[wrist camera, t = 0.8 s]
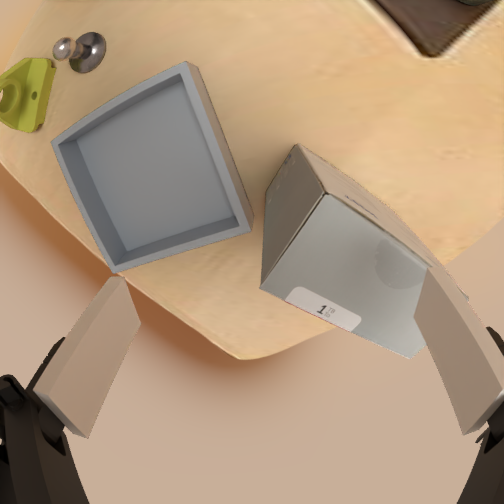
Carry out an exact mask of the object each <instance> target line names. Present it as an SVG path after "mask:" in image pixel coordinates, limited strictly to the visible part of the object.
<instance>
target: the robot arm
mask: <svg viewBox="0 0 504 504" xmlns="http://www.w3.org/2000/svg"><path fill="white" fill-rule="evenodd" d="M413 318H414V320H415V322H416V324H417V326H418V328H419V330H420V332H421V334H422V336H423V338H424V340H425V342H426V344H427V346H428V349H429V351H430V353H431V355H432V357H433V360H434V362H435V364H436V366H437V369H438V371H439V373H440V376H441V378H442V380H443V383H444V385H445V388H446V390H447V393H448V395H449V398H450V400H451V403H452V406H453V408H454V411H455V414H456V416H457V419H458V422H459V425H460V428H461V431H462V434H463V435H466V434H469V433H471V432H474V431H476V430H479V429H480V428H481V427H482V426H483V425H484V424H485V423H486V421H487V422H488V424H489V428H487V429H486V430H485V431H484V432H483V433H482V434H481V435H480V436H479V437H478V438H477V440H476V442H475V443H478V442H479V441H480V440H481V439H482V438H483V437H484V438H483V441H482V443H481V447H480V450H479V453H478V456H477V458H476V461H475V464H474V466H473V469H472V471H471V474H470V476H469V478H468V481H467V483H466V485H465V487H464V489H463V492H462V494H461V496H460V498H459V500H458V502H457V504H504V342H503V340H502V339H501V337H500V335H499V334H498V333H497V332H495V331H494V330H493V329H492V328H491V327H485V326H484V324H483V323H482V321H481V320H480V318H479V317H478V316H477V314H476V313H475V311H474V310H473V308H472V307H471V305H470V304H469V303H468V301H467V300H466V299H465V297H464V296H463V294H462V293H461V292H460V290H459V289H458V288H457V286H456V285H455V284H454V282H453V281H452V280H451V279H450V277H449V276H448V275H447V273H446V272H445V271H444V270H443V268H442V267H429V268H427V270H426V274H425V278H424V282H423V286H422V289H421V293H420V296H419V300H418V303H417V306H416V310H415V313H414V316H413ZM140 325H141V322H140V320H139V317H138V315H137V312H136V309H135V306H134V304H133V301H132V298H131V296H130V293H129V290H128V287H127V284H126V281H125V278H124V277H110V278H109V279H108V280H107V282H106V283H105V284H104V285H103V287H102V288H101V290H100V291H99V292H98V293H97V295H96V296H95V297H94V299H93V300H92V301H91V303H90V304H89V306H88V307H87V308H86V310H85V311H84V312H83V314H82V315H81V317H80V318H79V319H78V321H77V322H76V324H75V325H74V327H73V328H72V329H71V331H70V332H69V334H68V335H67V337H63V338H62V339H60V340H59V341H58V342H57V343H56V344H54V346H53V347H52V349H51V350H50V352H49V353H48V356H46V358H45V359H44V361H43V364H41V365H40V367H39V368H38V370H37V372H36V373H35V375H34V377H33V378H32V380H31V381H30V383H29V385H28V387H27V388H26V389H24V388H23V387H22V386H21V385H20V383H19V382H18V381H17V379H16V378H15V377H14V376H13V375H9V374H8V375H3V376H1V377H0V438H1V439H2V443H1V445H0V504H89V502H88V499H87V496H86V494H85V492H84V489H83V487H82V484H81V481H80V479H79V476H78V473H77V470H76V467H75V464H74V461H73V458H72V455H71V451H70V448H69V444H68V441H67V437H66V435H65V433H64V432H63V429H64V426H66V427H67V428H68V429H69V430H70V431H71V432H72V433H73V434H76V435H79V436H82V437H84V438H87V439H88V438H89V435H90V433H91V431H92V428H93V426H94V423H95V421H96V419H97V416H98V414H99V412H100V409H101V407H102V405H103V403H104V400H105V398H106V396H107V393H108V391H109V389H110V387H111V385H112V383H113V380H114V378H115V376H116V374H117V372H118V370H119V368H120V365H121V363H122V361H123V359H124V357H125V355H126V353H127V351H128V349H129V347H130V345H131V343H132V341H133V339H134V337H135V335H136V333H137V331H138V329H139V327H140Z"/></svg>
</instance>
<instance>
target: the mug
mask: <svg viewBox="0 0 504 504" xmlns="http://www.w3.org/2000/svg"><path fill="white" fill-rule="evenodd" d="M459 1H461V2H463V3H465V4H468V5H473V6H476V5H480V4H483V3H486V2H490V1H493V0H459Z"/></svg>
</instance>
